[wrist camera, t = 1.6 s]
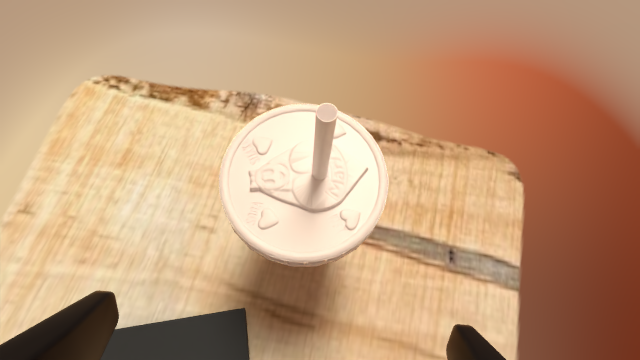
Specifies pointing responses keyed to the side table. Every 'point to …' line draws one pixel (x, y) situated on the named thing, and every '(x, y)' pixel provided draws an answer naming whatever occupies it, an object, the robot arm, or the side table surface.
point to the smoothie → (303, 184)
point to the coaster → (183, 339)
